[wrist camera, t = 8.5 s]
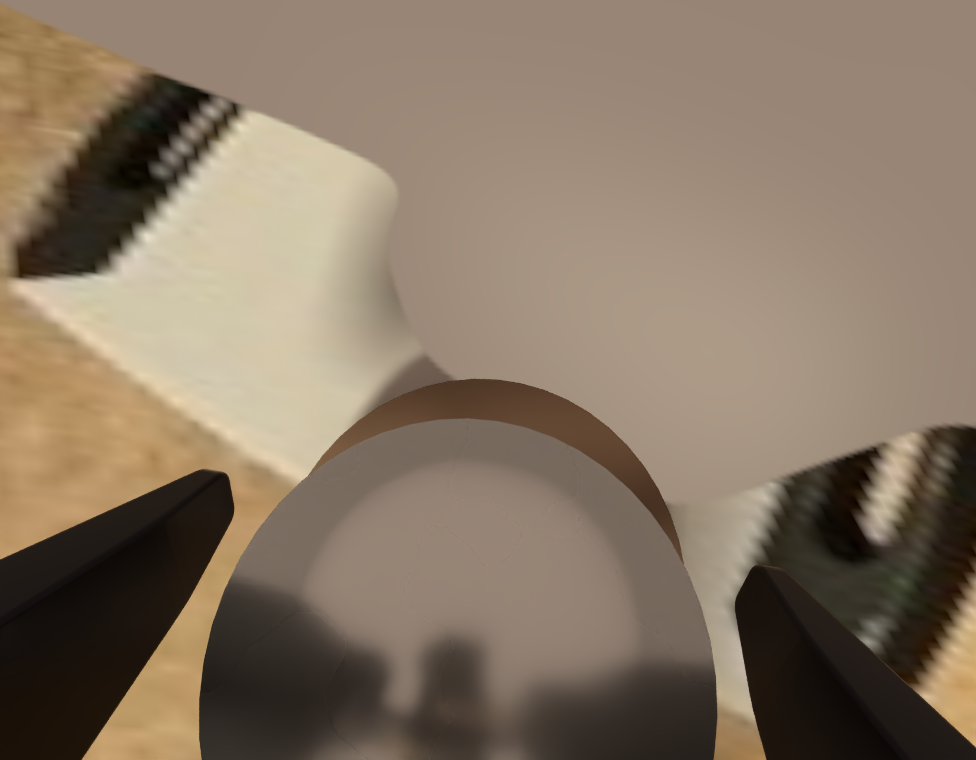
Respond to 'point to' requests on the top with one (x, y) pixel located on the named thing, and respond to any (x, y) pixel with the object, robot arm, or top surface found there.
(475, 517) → the canister
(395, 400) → the turntable
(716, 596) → the top surface
